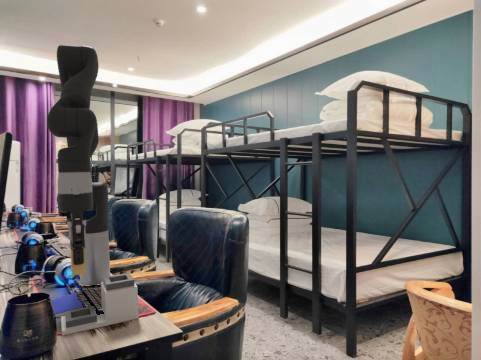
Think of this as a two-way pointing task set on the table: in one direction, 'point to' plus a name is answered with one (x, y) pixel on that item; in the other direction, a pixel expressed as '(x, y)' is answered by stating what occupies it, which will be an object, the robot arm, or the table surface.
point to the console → (106, 306)
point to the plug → (77, 268)
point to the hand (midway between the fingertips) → (78, 262)
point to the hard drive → (66, 304)
